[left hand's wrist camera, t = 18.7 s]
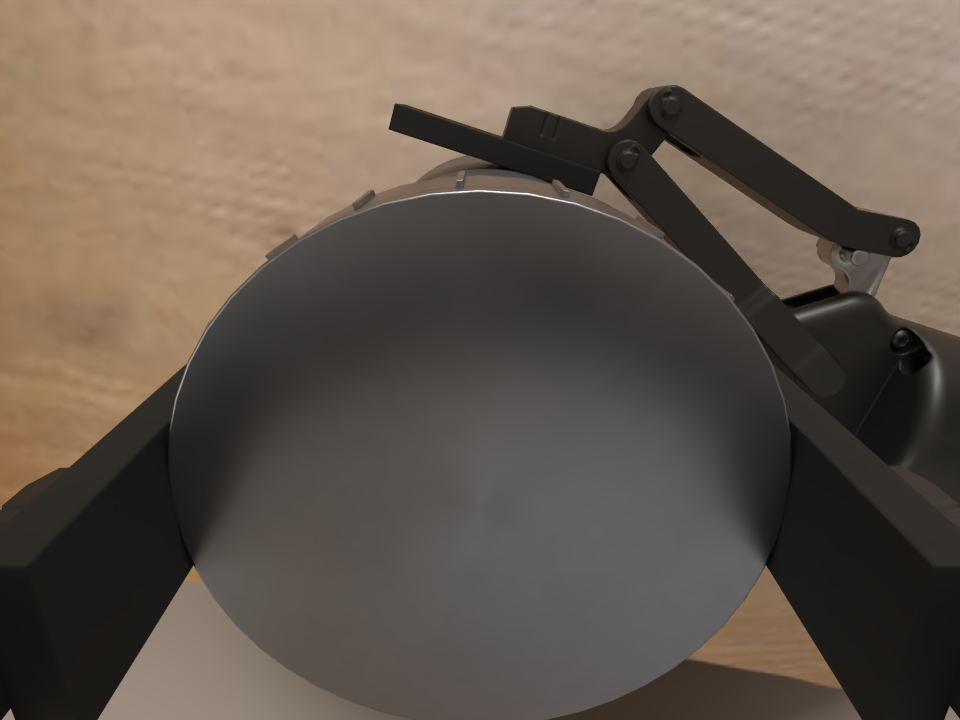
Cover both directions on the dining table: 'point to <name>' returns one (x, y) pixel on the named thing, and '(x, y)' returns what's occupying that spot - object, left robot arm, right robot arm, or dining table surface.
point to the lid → (479, 452)
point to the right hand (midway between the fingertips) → (361, 262)
